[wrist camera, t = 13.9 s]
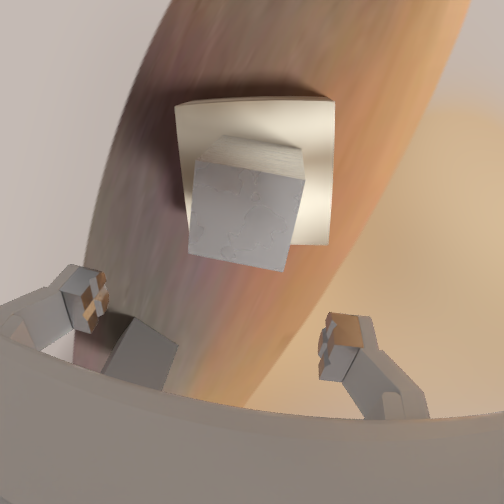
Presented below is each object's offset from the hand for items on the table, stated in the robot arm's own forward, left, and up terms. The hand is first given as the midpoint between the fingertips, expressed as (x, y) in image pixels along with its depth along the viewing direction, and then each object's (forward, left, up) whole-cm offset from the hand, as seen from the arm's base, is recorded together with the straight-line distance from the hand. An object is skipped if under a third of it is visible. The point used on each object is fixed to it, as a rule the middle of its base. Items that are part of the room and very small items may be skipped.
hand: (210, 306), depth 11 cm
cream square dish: (0, 0, -19) cm, 19 cm away
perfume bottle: (-26, +12, -19) cm, 34 cm away
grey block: (0, 0, -14) cm, 14 cm away
